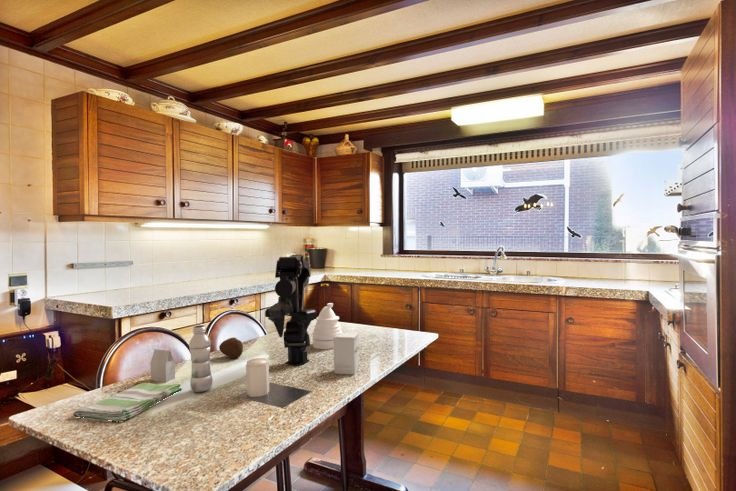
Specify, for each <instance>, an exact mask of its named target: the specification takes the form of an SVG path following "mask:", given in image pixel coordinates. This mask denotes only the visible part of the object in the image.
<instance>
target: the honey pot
mask: <svg viewBox="0 0 736 491" xmlns="http://www.w3.org/2000/svg"><path fill="white" fill-rule="evenodd" d="M333 307H334V303H333V302H329V303H327V304H326V306H323V308H322V309H321V310H320V312H319V313H318V314H319V315H318V316H317V318H315V319H316V322H315V325H314V329H313V332H312V347H313V348H315V349H318V350H319V349H320V350H332V349H333V350H334V339H333V338H334V337H335V336H336V335H337V334H338V333H343V330H342V328H341V325H340V323H339V320H340V316H338V315H336V313H335V312H334V310H333V309H332V308H333Z"/></svg>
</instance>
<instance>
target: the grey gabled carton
mask: <svg viewBox="0 0 736 491" xmlns="http://www.w3.org/2000/svg"><path fill="white" fill-rule="evenodd" d="M152 353H153V354H152V357H151V360H150V362H149V363H150V365H149V366H150V381H153V380H154V382H155V381H156V382H161V381H162V382H163V383H167V382H170V381H173V380H176V366H175V365H176V364H175V363H176V362H175V360H174V358H173V355H172V353H171V350H167V349H166V350H165V349H158V348H157V349H156V348H155V349H154V350H153V352H152Z"/></svg>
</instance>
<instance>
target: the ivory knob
mask: <svg viewBox="0 0 736 491" xmlns="http://www.w3.org/2000/svg"><path fill="white" fill-rule="evenodd" d="M268 360H269V359H267V358H266V357H255V358H251V359H248V360H247V361H246V364H245V374H246V379H245V380H246V391H247V395H249V396H251V397H260V396H263V395H266V394H268V392H269V391H270V390H269V382H270V368H269V364H270V362H269V361H268Z"/></svg>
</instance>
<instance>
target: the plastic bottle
mask: <svg viewBox="0 0 736 491" xmlns="http://www.w3.org/2000/svg"><path fill="white" fill-rule="evenodd" d="M192 330H193V331H192V334H193V335H192V337H191V338H190V341H189V344H188V349H189V353H190V361H191V376H190V381H189V382H190V384H189V385H190V389H191V390H192V392H195V393H203V392H206V391H209V390H210V389H211V388H212V387H213V383H214V382H213V376H212V371H211V364H210V363H211V362H210V360H211V357H210V356H211V346H212V341H211V339H210V338H209V336H208V335H207V334H206V332H207V329H206V325H204V324H201V325H194V326H193V327H192Z"/></svg>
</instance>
